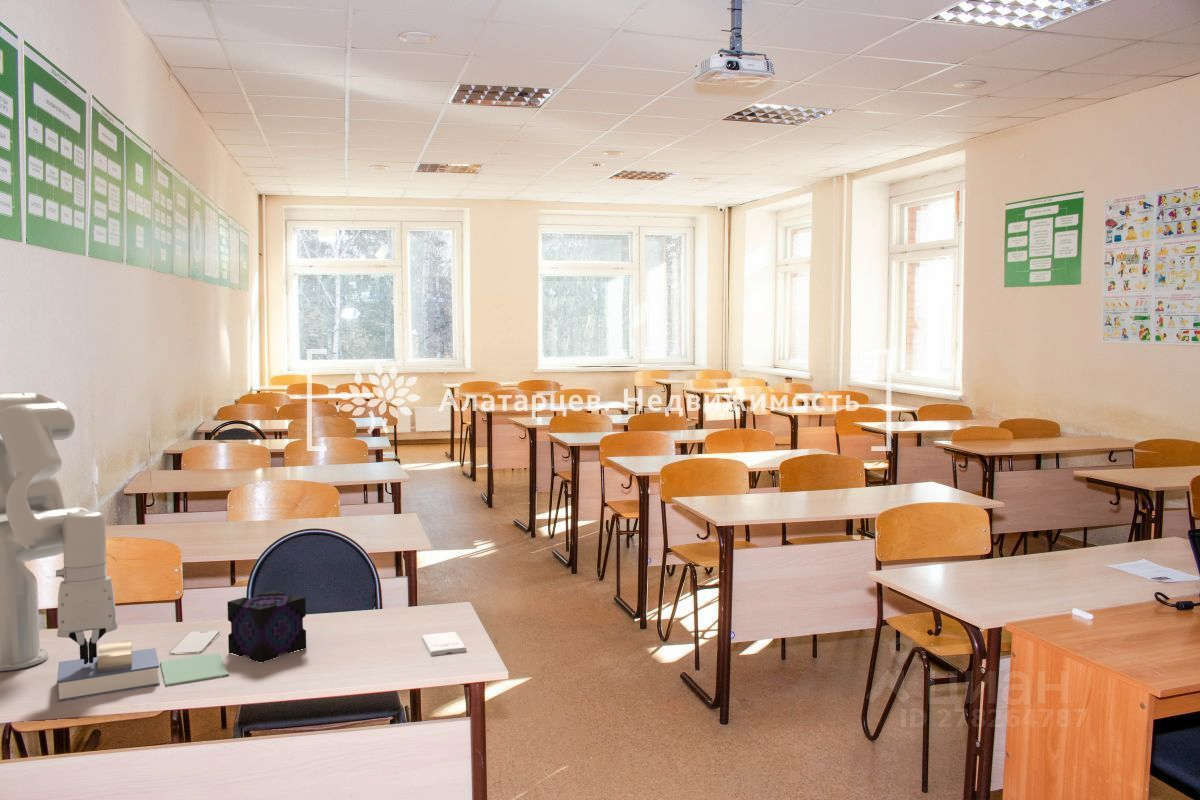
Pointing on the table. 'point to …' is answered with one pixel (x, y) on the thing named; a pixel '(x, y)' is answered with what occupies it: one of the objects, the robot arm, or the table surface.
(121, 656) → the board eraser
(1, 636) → the robot arm
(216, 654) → the mat
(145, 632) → the table surface
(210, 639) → the smartphone
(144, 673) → the textbook
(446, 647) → the external hard drive
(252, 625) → the energy cube
